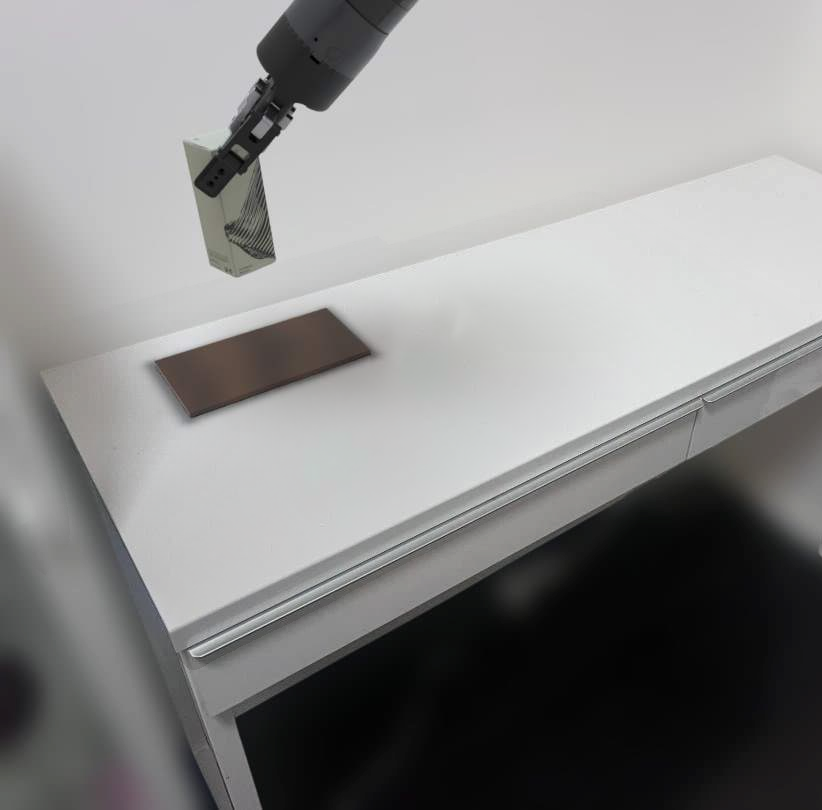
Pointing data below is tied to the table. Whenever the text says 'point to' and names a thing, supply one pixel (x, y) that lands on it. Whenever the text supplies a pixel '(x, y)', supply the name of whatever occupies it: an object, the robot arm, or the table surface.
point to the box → (232, 211)
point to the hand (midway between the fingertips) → (211, 175)
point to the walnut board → (259, 360)
